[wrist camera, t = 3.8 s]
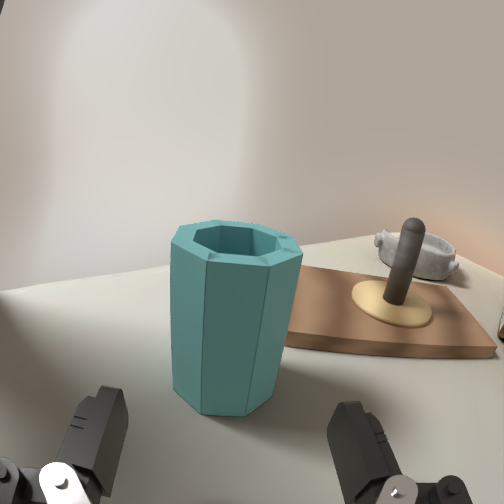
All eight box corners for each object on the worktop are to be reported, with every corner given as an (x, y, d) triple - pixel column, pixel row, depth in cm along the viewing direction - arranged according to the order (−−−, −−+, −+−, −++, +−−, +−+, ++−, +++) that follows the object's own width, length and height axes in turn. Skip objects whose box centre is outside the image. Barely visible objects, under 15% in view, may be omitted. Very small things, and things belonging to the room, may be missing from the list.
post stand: (284, 345, 24) (310, 215, 20) (286, 274, 37) (301, 186, 33) (491, 358, 22) (533, 261, 19) (442, 296, 35) (466, 220, 32)
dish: (363, 261, 45) (371, 230, 43) (389, 245, 55) (395, 221, 53) (448, 295, 36) (459, 262, 35) (456, 271, 46) (464, 245, 45)
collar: (169, 410, 16) (162, 256, 13) (181, 347, 22) (184, 217, 19) (275, 417, 17) (312, 269, 13) (265, 353, 23) (287, 226, 19)
